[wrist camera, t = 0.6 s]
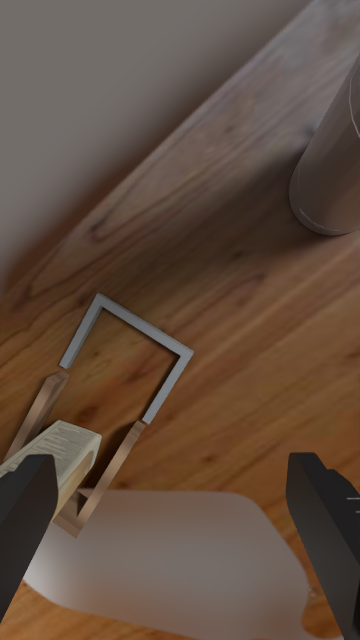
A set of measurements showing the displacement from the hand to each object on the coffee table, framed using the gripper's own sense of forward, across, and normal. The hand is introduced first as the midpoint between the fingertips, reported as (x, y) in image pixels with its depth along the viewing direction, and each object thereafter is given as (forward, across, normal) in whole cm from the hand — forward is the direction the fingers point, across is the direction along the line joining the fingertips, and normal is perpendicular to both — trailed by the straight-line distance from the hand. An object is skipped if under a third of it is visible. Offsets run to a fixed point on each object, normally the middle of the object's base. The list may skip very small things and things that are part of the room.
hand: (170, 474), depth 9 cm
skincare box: (+23, +13, +16) cm, 31 cm away
